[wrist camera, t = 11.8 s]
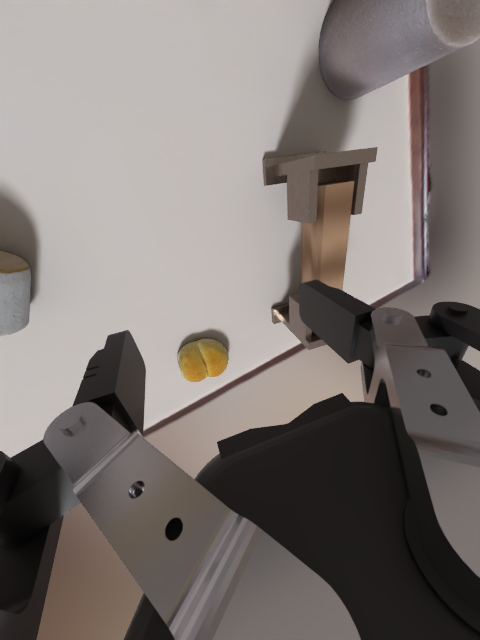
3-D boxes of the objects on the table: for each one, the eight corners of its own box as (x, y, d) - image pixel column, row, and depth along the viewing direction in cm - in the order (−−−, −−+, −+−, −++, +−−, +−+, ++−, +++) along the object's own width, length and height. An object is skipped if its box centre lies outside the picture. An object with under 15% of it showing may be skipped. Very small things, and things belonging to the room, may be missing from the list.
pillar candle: (365, -45, 25) (576, -294, 12) (399, 53, 30) (574, -52, 17) (302, 44, 27) (426, -91, 14) (343, 122, 31) (463, 74, 19)
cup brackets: (262, 159, 31) (306, 144, 21) (322, 152, 32) (387, 135, 23) (272, 321, 43) (302, 356, 34) (315, 310, 45) (354, 340, 36)
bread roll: (228, 366, 46) (234, 380, 42) (182, 378, 44) (184, 393, 40) (223, 331, 41) (229, 343, 38) (173, 342, 40) (174, 356, 36)
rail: (303, 186, 28) (325, 185, 24) (328, 182, 29) (354, 181, 25) (301, 316, 37) (317, 330, 33) (320, 310, 38) (338, 323, 34)
